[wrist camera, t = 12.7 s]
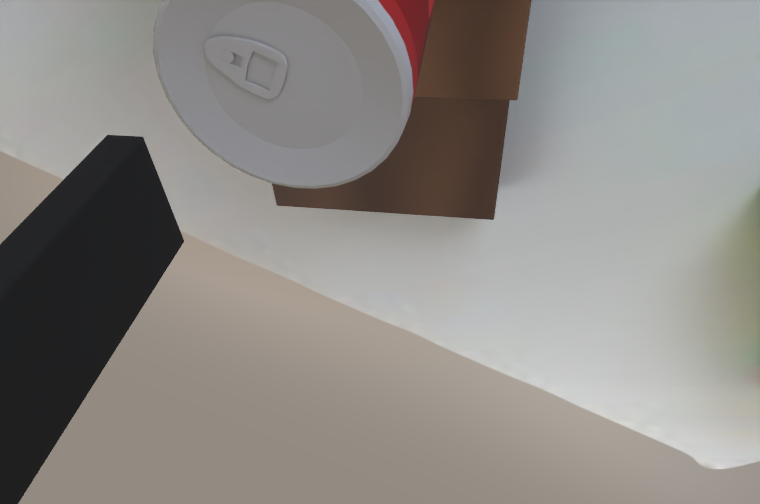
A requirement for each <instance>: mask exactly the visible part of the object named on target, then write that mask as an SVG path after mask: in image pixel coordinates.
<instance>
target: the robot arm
mask: <svg viewBox="0 0 760 504" xmlns="http://www.w3.org/2000/svg"><path fill="white" fill-rule="evenodd" d="M183 242H184V240H183V237H182V235H181V232H180V230H179V227H178V225H177V222H176V220H175V217H174V214H173V212H172V209H171V207H170V204H169V202H168V199H167V197H166V194H165V192H164V189H163V187H162V184H161V181H160V179H159V176H158V174H157V171H156V169H155V166H154V164H153V161H152V159H151V156H150V154H149V151H148V148H147V146H146V143H145V141H144V138H143V137H135V136H116V135H107V136H106V137H105V138H104V139H103V140H102V141H101V142H100V143H99V144H98V145H97V146H96V147H95V148H94V149H93V150H92V151H91V152H90V153H89V155H88V156H87V157H86V158H85V159H84V160H83V161H82V162H81V163H80V164H79V165H78V166H77V167H76V168H75V169H74V170H73V171H72V172H71V173H70V174H69V175H68V176H67V177H66V178H65V179H64V180H63V181H62V182H61V183H60V184H59V185H58V186H57V187H56V188H55V189H54V190H53V191H52V192H51V193H50V194H49V195H48V196H47V197H46V198H45V199H44V200H43V201H42V203H41V204H40V205H39V206H38V207H37V208H36V209H35V210H34V211H33V212H32V213H31V214H30V215H29V216H28V217H27V218H26V219H25V220H24V221H23V222H22V223H21V224H20V225H19V226H18V227H17V228H16V229H15V230H14V231H13V232H12V233H11V234H10V235H9V236H8V237H7V238H6V239H5V240H4V241H3V242H2V243H1V245H0V504H18V503H19V501H20V500H21V498H22V496H23V495H24V493H25V492H26V490H27V488H28V487H29V485H30V484H31V482H32V481H33V479H34V477H35V476H36V474H37V473H38V471H39V470H40V468H41V466H42V465H43V463H44V462H45V460H46V458H47V457H48V455H49V454H50V452H51V451H52V449H53V447H54V446H55V444H56V443H57V441H58V440H59V438H60V436H61V435H62V433H63V432H64V430H65V428H66V427H67V425H68V424H69V422H70V420H71V419H72V417H73V416H74V414H75V413H76V411H77V409H78V408H79V406H80V405H81V403H82V401H83V400H84V398H85V397H86V395H87V393H88V392H89V391H90V389H91V387H92V386H93V384H94V383H95V381H96V380H97V378H98V376H99V375H100V373H101V372H102V370H103V368H104V367H105V365H106V364H107V362H108V361H109V359H110V357H111V356H112V354H113V353H114V351H115V349H116V348H117V346H118V345H119V343H120V342H121V340H122V338H123V337H124V335H125V333H126V332H127V330H128V329H129V327H130V326H131V324H132V323H133V321H134V320H135V318H136V316H137V315H138V313H139V312H140V310H141V308H142V307H143V305H144V304H145V302H146V301H147V299H148V297H149V296H150V294H151V293H152V291H153V290H154V288H155V286H156V285H157V283H158V282H159V280H160V278H161V277H162V275H163V273H164V272H165V271H166V269H167V267H168V266H169V264H170V263H171V261H172V260H173V258H174V256H175V255H176V253H177V252H178V250H179V248H180V247H181V245H182V244H183Z"/></svg>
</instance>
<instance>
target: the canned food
mask: <svg viewBox="0 0 760 504" xmlns="http://www.w3.org/2000/svg"><path fill="white" fill-rule="evenodd" d="M434 1H435V0H163V2H162V3H161V5H160V7H159V11H158V15H157V19H156V23H155V26H154V50H153V52H154V57H155V62H156V68H157V73H158V76H159V79H160V81H161V84H162V87H163V89H164V92H165V94H166V97H167V98H168V100H169V102H170V103H171V105H172V107H173V108H174V110H175V112H176V114H177V115H178V117H179V118H180V119H181V121H182V122H183V123H184V124H185V126H186V127H187V128H188V129H189V130H190V132H191V133H192V134H193V135H194V136H195V137H196V138H197V139H198V140H199V141H200V142H201V143H202V144H203V145H204V146H206V147H207V148H208V149H209V150H210V151H211V152H212V153H214V154H215V155H217V156H218V157H219V158H221V159H222V160H224V161H225V162H227V163H228V164H230V165H231V166H233V167H235V168H237V169H239V170H241V171H243V172H245V173H247V174H249V175H250V176H253V177H256V178H258V179H261V180H264V181H267V182H270V183H273V184H278V185H283V186H288V187H293V188H311V189H317V188H325V187H334V186H338V185H341V184H345V183H348V182H351V181H354V180H356V179H358V178H360V177H362V176H364V175H365V174H367V173H369V172H371V171H373V170H374V169H375V168H376V167H377V166H378V165H379V164H380V163H382V162H383V161H384V160H385V159H386V158H387V157H388V156H389V154H390V153H391V151H392V150H393V149H394V147H395V146H396V144H397V143H398V141H399V139H400V136H401V134H402V133H403V130H404V128H405V125H406V123H407V120H408V118H409V115H410V112H411V107H412V103H413V100H414V97H415V92H416V88H417V83H418V78H419V73H420V68H421V64H422V59H423V54H424V49H425V45H426V40H427V35H428V30H429V25H430V21H431V16H432V11H433V6H434Z"/></svg>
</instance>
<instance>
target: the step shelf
mask: <svg viewBox="0 0 760 504" xmlns="http://www.w3.org/2000/svg"><path fill="white" fill-rule="evenodd" d="M530 5H531V0H435V1H434V6H433V11H432V16H431V21H430V25H429V30H428V35H427V40H426V45H425V49H424V54H423V59H422V64H421V68H420V73H419V78H418V83H417V88H416V92H415V97H414V100H413V103H412V107H411V112H410V115H409V118H408V120H407V123H406V125H405V128H404V130H403V133H402V134H401V136H400V139H399V141H398V143H397V144H396V146H395V147H394V149H393V150H392V151H391V153H390V154H389V156H388V157H387V158H386V159H385V160H384V161H383V162H382V163H380V164H379V165H378V166H377V167H376V168H375V169H374V170H373V171H371V172H369V173H367V174H365V175H364V176H362V177H360V178H358V179H356V180H354V181H351V182H348V183H345V184H341V185H338V186H334V187H325V188H317V189H311V188H293V187H288V186H283V185H278V184H273V183H272V185H273V190H274V194H275V199H276V203H277V205H278V206H294V207H309V208H324V209H339V210H354V211H369V212H384V213H399V214H414V215H430V216H445V217H460V218H475V219H490V220H493V219H494V214H495V207H496V199H497V191H498V184H499V176H500V168H501V160H502V153H503V145H504V137H505V130H506V122H507V114H508V107H509V100H517V98H518V91H519V84H520V76H521V69H522V62H523V55H524V48H525V41H526V34H527V27H528V20H529V13H530Z"/></svg>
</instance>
